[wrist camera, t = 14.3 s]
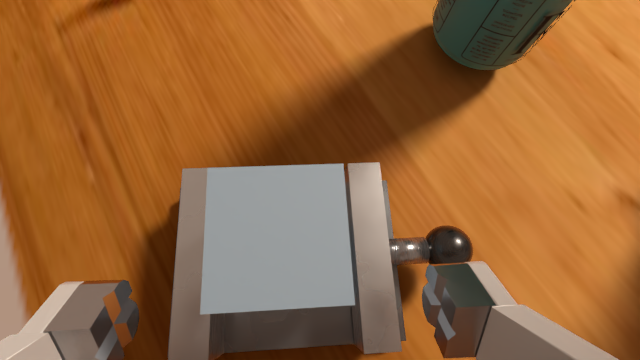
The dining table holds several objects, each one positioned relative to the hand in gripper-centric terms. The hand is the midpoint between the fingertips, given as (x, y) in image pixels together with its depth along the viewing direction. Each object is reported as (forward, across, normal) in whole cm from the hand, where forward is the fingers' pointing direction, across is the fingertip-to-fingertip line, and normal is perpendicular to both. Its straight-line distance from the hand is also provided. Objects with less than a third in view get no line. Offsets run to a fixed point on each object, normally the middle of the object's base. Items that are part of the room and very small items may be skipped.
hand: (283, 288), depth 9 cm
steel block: (+6, 0, +4) cm, 8 cm away
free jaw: (+6, -6, +4) cm, 9 cm away
